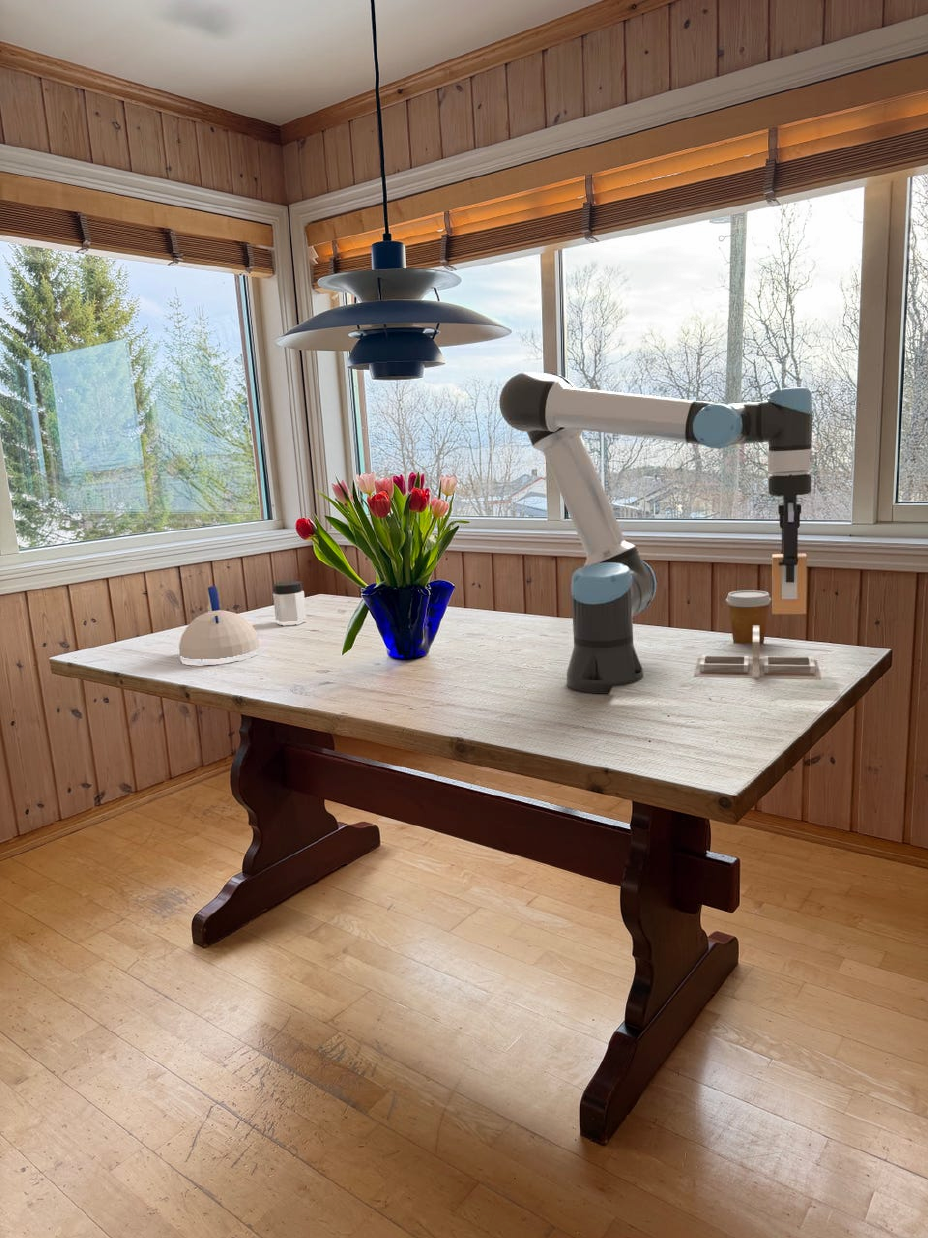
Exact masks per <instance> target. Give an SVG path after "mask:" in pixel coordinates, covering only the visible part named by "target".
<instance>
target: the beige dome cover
mask: <svg viewBox="0 0 928 1238" xmlns="http://www.w3.org/2000/svg"><path fill="white" fill-rule="evenodd" d="M217 588H218V587H216V586H215V585H214V586H209V587H207V599H208V605H207V606H206V609H207V612H204V613H203V614H200V615H199V616H197V617H195V618H194V619H193V620H192V621H191V622H190V623H189V624H188V625H187V626H186V628H185V630H184V631H183V632H182V634H181V637H180V641H179V643H178V644H179V645H178V647H179V648H178V650H179V657H180V656H182V657H184V658H189V659H201V660H202V659H220V658H227V657H233V656H237V655H242V654H246V653H249V652H252V651H254V650H257V649H259V648H261V644H260V639H259V634H258V633H257V631H256V630H255V628H254V626H253V625H252V624H251V623H250V622H249V621H248V620H247V619H246V618H244V616H241V615H239V614H237V613H236V612H232V611H228V610H221V604H220V600H219V593H218V589H217Z"/></svg>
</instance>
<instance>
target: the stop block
mask: <svg viewBox="0 0 928 1238" xmlns="http://www.w3.org/2000/svg"><path fill="white" fill-rule="evenodd" d="M771 555H772V556H771V557H772V558H771V559H772V560H771V562H772V563H771V564H772V565H771V567H772V568H771V571H772V572H771V573H772V574H771V581H772V582H771V587H772V588H771V589H772V593H771V595H772V596H771V606H772V607H771V613H772V615H807V570H808V569H807V564H808V563H807V562H808V561H807V560H808V559H807V558H808V557H807V554H806V553H798V563H797V565H798V567H797V599H782V565H779V562H782V561H783V554H781V553H773V554H771Z"/></svg>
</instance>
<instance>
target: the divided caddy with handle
mask: <svg viewBox="0 0 928 1238" xmlns="http://www.w3.org/2000/svg"><path fill="white" fill-rule="evenodd" d="M817 660H818V659H814V657H813V656H799V655H798V656H794V655H793V656H788V655H785V656H784V655H779V656H777V655H775V656H774V655H772V656H771V655H770V656H769V655H763V658H760V644H759V625H753V644H752V658H750V657H749V655H720V654H719V655H716V654H715V655H713V654H712V655H711V654H710V655H708V654H707V655H706V654H705V655H704V654H703V655H702V654H701V657H698V658H697V661H696V665H695V669H694V673H693V677H694V678H736V679H737V678H738V679H739V678H743V679H785V680H786V679H790V680H793V679H795V680H822V676H821V672H820V669H819V665H818V661H817Z"/></svg>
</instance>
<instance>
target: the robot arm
mask: <svg viewBox="0 0 928 1238" xmlns="http://www.w3.org/2000/svg"><path fill="white" fill-rule="evenodd" d="M812 400H813V399H812V392H811V390H810V389H809V388H807V387H787V388H778V389H772V390H770V391H769V392H768V397H767V400H763V401H757V402H740V403H722V402H710V401H702V400H701V401H700V400H692V399H684V398H683V399H681V398H672V397H664V396H663V397H662V396H656V395H655V396H653V395H645V394H635V393H626V392H617V391H616V392H615V391H607V390H597V389H590V388H580V387H579V388H577V387H576V386H575V385H574V383H573V382H571V381H570V380H569V379H568V378H566V377H564V376H562V375H560V374H557V373H555V372H548V373H547V372H543V373H539V372H533V371H532V372H528V371H527V372H521V373H518V374H516V375H514V376H512V377H511V378H510V379H509V380H508V381H507V382H506V383H505V384H504V386H503V387H502V389H501V392H500V395H499V401H498V403H499V411H500V413H501V415H502V416H501V417H503V419H504V421H505V422H506V423H507V424H508V425H509V426H510V427H511V428H513V429H515V430H516V431H517V430H518V431H520V432H526V433H527V436H528V438H529V440H530V443H531V446H532V448H533V449H535V450H536V451H540V452H541V453H543V455H544V457H545V461H546V463H547V464H548V466H549V467H548V468H549V470H550V472H551V474H552V476H553V479H554V482H555V484H556V486H557V488H558V491H559V494H560V495H561V498H562V500H563V503H564V506H565V507H566V510H567V512H568V515H569V517H570V519H571V521H572V524H573V526H574V529H575V532H576V534H577V536H578V539H579V541H580V543H581V545H582V548H583V551H584V552H585V555H586V560H585V562H584V564H583V566H581V567H579V568H578V569H576V570H575V571H574V572H573V573H572V576H571V585H570V595H571V609H572V627H573V628H572V629H573V630H572V631H573V632H572V633H573V645H574V646H573V649H572V653H571V656H570V659H569V664H568V667H567V671H566V684H567V686H568V688H570V689H573V690H575V691H578V692H582V693H591V694H592V693H593V694H610V692H611V691H612V689H613V688H614V687H621V686H626V685H631V684H633V683H638V682H639V681H641V680H642V679H643V678H644V670H643V668H642V665H641V662H640V659H639V656H638V653H637V651H636V648H635V645H634V626H633V625H634V621H633V620H634V619H633V617H635V616H637V615H639V614H641V613H642V612H643V611H645V610H646V609H647V608H648V607H649V606H650V604H651V603H652V601H653V599H654V598H655V596H656V591H657V577H656V574H655V572H654V570H653V569H652V567H651V566H650V565H649V564H648V563H647V562H645V561H644V560H642V559H641V556H640V554H639V551H638V549H637V547H636V545H635V544H633V543H631V542H628V541H627V540H625V537H624V535H623V532H622V530H621V528H620V524H619V523H618V520H617V518H616V515H615V513H614V510H613V509H612V506H611V503H610V500H609V499H608V496H607V494H606V491H605V489H604V487H603V485H602V481H601V480H600V477H599V474H598V472H597V470H596V468H595V466H594V463H593V461H592V458H591V455H590V454H589V451H588V448H587V446H586V443H585V441H584V438H583V436H582V433H583V431H589V432H597V433H605V434H612V435H622V436H628V437H629V436H630V437H637V438H645V439H651V440H652V439H653V440H661V441H669V442H675V443H676V442H677V443H685V444H692V445H697V446H698V445H699V446H705V447H706V448H709V449H724V448H726V447H728V446H733V445H744V444H745V445H746V444H756V443H757V444H758V443H768V451H767V452H768V453H767V457H768V459H767V463H768V465H767V470H768V471H767V472H768V473H771V475H769V477H768V494H769V495H770V496H773V497H780V496H781V497H782V503H781V504H778V505H777V506H778V515H779V527H780V529H781V550H780V554H783V561H782V562H779V565H782V599H797V567H798V565H797V563H798V554H799V553H798V547H799V546H798V545H799V543H798V541H799V539H798V538H799V536H798V535H799V533H798V532H799V531H798V530H799V528H800V527H801V514H802V504H801V503H797V502H798V501H797V500H798V499H797V496H804V495H805V496H806V495H809V494H811V492H812V475H811V473H808V471H811V469H812V461H811V460H814V459H816V454H815V453H811V452H812V441H813V440H812V439H813V438H812V437H813V436H812V435H813V401H812Z"/></svg>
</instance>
